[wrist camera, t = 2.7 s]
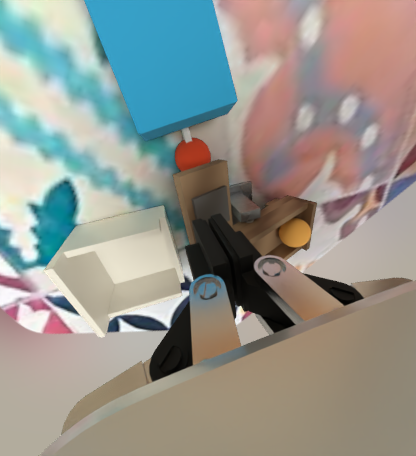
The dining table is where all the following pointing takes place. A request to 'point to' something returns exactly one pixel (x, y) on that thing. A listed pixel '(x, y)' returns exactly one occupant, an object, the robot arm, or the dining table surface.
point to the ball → (295, 232)
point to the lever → (167, 67)
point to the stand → (243, 203)
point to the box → (118, 266)
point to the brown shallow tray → (220, 203)
